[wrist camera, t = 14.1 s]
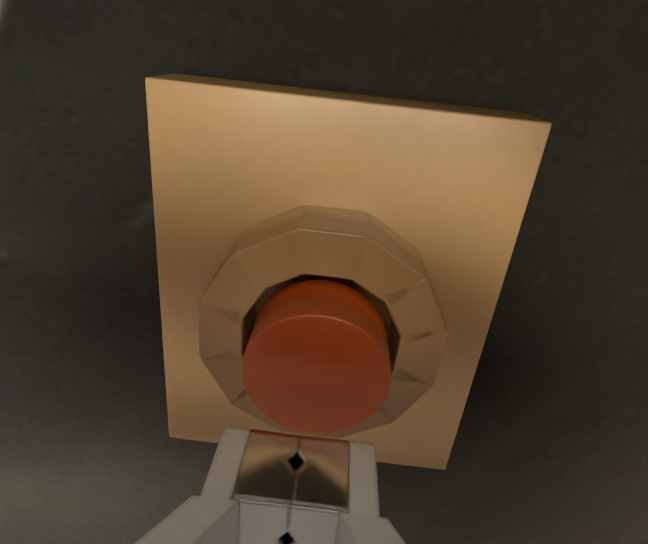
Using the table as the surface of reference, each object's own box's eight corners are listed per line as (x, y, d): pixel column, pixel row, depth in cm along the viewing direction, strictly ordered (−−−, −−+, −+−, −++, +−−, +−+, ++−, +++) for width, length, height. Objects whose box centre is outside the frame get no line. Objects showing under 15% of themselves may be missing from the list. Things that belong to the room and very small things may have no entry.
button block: (435, 425, 18) (455, 517, 15) (188, 396, 18) (148, 480, 15) (523, 112, 13) (588, 135, 9) (175, 73, 13) (108, 81, 9)
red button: (376, 396, 13) (379, 443, 12) (252, 381, 13) (239, 426, 12) (397, 287, 12) (404, 324, 10) (257, 271, 12) (242, 305, 10)
